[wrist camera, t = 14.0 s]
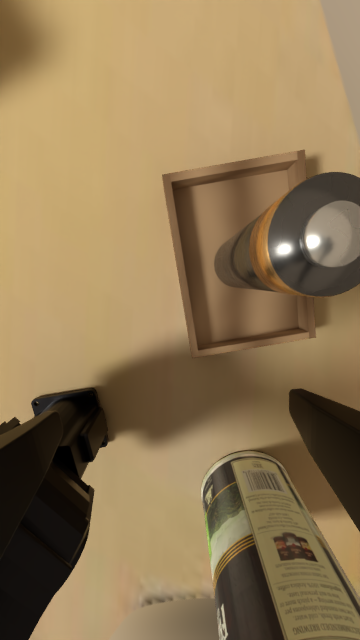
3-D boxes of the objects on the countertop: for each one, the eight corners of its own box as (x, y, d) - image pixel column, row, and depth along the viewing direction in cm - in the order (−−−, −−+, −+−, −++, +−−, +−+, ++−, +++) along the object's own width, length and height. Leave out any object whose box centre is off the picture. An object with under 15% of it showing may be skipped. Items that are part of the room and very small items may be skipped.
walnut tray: (190, 350, 22) (192, 357, 20) (163, 186, 19) (162, 174, 17) (301, 331, 22) (315, 337, 20) (290, 164, 19) (304, 149, 17)
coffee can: (218, 537, 26) (266, 828, 12) (187, 468, 24) (203, 715, 10) (301, 510, 26) (449, 780, 12) (276, 437, 24) (414, 653, 10)
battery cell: (203, 265, 20) (247, 241, 8) (237, 226, 19) (343, 131, 7) (239, 298, 21) (334, 323, 8) (272, 260, 20) (428, 227, 8)
